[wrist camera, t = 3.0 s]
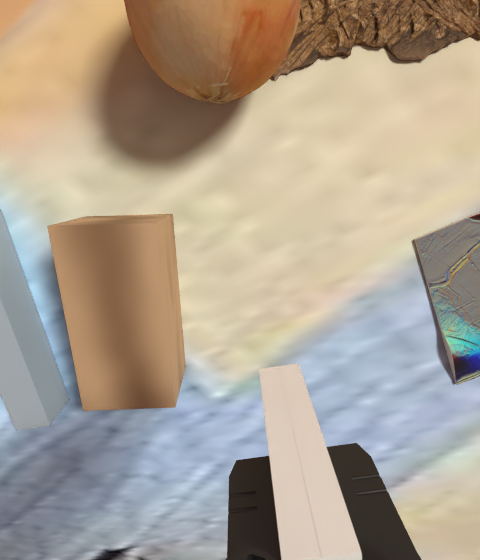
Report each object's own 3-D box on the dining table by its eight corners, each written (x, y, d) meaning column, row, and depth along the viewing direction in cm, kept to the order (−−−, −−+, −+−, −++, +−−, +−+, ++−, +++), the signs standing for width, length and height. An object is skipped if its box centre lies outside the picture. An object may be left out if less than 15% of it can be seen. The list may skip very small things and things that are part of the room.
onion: (169, 130, 25) (129, 100, 15) (129, -28, 22) (51, -185, 13) (296, 101, 25) (335, 52, 15) (272, -64, 22) (302, -254, 12)
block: (110, 367, 31) (83, 410, 25) (86, 216, 27) (47, 226, 21) (185, 365, 31) (175, 407, 25) (173, 213, 27) (156, 222, 21)
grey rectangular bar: (38, 404, 32) (15, 430, 28) (-36, 215, 27) (-75, 220, 23) (69, 399, 32) (50, 425, 28) (0, 209, 26) (-33, 213, 23)
